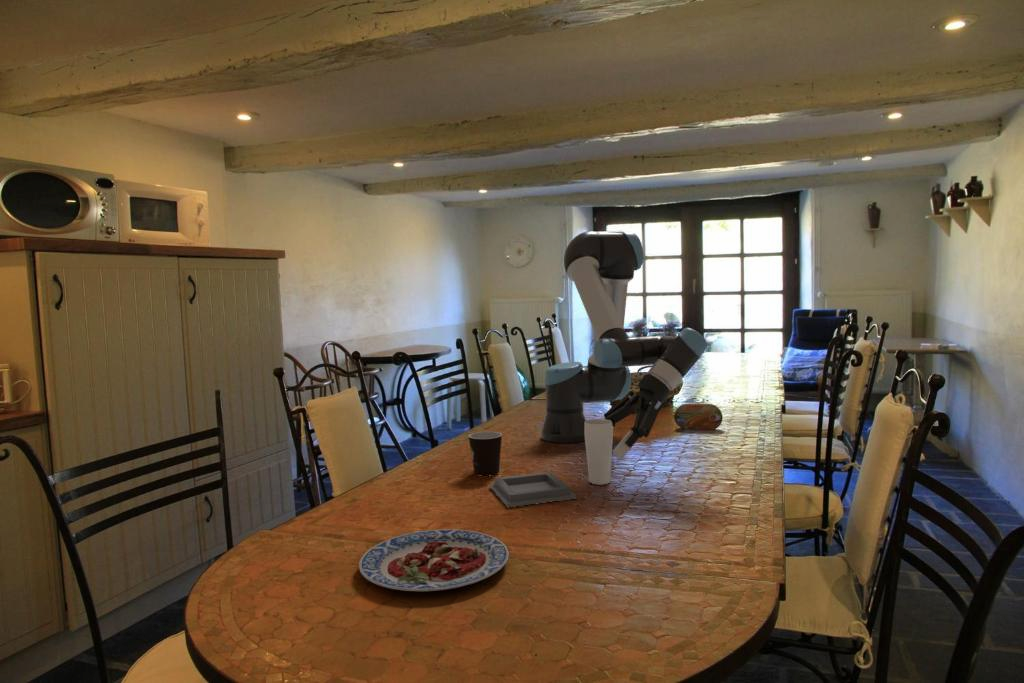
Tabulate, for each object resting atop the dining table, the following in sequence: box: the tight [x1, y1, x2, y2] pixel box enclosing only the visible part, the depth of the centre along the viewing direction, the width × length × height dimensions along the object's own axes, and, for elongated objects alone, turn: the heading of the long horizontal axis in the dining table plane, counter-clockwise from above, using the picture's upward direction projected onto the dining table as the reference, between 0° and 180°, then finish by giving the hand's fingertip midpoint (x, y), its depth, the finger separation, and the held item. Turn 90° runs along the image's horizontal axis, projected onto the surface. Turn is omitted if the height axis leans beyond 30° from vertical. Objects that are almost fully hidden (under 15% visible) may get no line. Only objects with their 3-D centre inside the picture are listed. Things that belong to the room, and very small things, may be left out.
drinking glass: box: [584, 418, 614, 486], centre depth 162 cm, size 7×7×15 cm
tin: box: [673, 403, 724, 431], centre depth 217 cm, size 15×3×8 cm, turn 73°
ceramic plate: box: [358, 528, 510, 592], centre depth 117 cm, size 26×26×3 cm
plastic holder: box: [489, 471, 577, 508], centre depth 156 cm, size 16×16×2 cm
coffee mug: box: [468, 431, 503, 477], centre depth 176 cm, size 12×9×10 cm
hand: (604, 449), depth 162 cm, fingers open, 13 cm apart
